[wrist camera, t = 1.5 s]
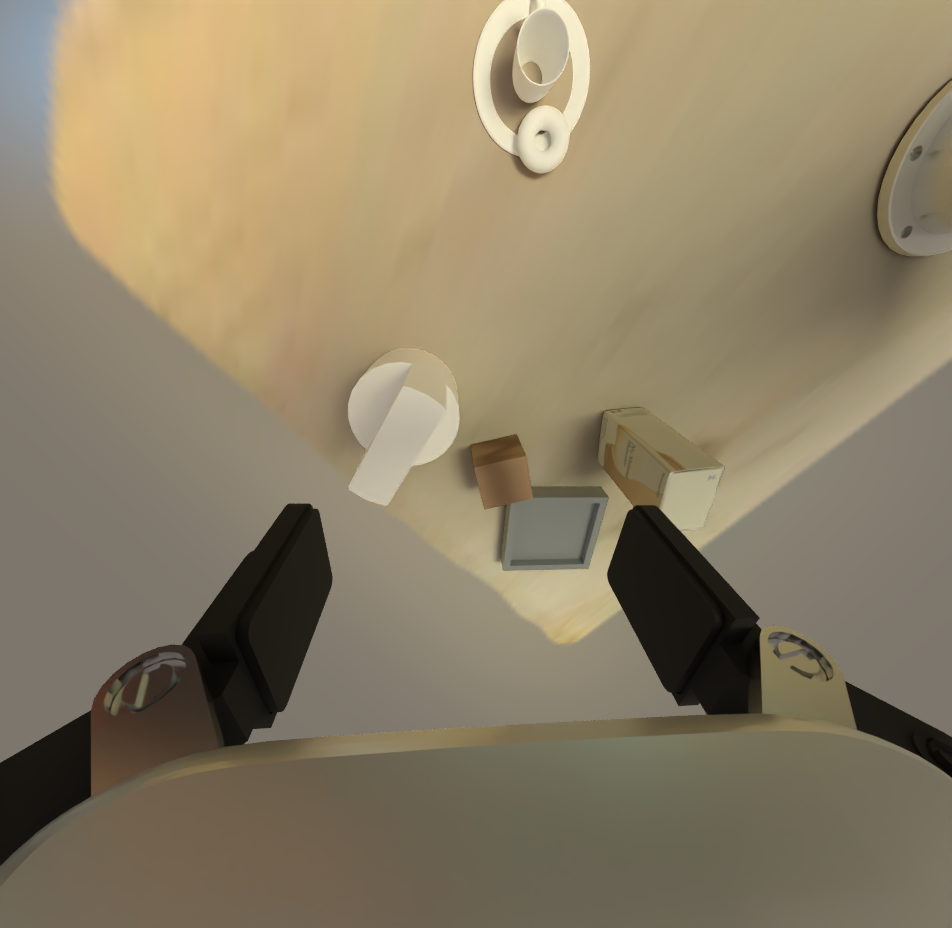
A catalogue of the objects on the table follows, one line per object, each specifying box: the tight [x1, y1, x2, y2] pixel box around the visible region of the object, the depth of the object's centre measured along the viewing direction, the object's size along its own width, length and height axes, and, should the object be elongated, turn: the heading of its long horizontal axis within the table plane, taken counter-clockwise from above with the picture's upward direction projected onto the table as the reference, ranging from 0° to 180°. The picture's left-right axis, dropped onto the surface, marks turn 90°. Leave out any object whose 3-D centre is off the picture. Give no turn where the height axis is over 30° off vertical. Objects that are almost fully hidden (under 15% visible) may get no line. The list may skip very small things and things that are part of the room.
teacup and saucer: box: [473, 0, 590, 173], centre depth 22 cm, size 9×8×4 cm
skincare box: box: [598, 408, 725, 531], centre depth 31 cm, size 6×4×12 cm
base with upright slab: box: [348, 348, 460, 506], centre depth 27 cm, size 9×9×12 cm
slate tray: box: [501, 487, 609, 571], centre depth 41 cm, size 11×11×2 cm
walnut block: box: [471, 434, 533, 509], centre depth 35 cm, size 5×5×5 cm
